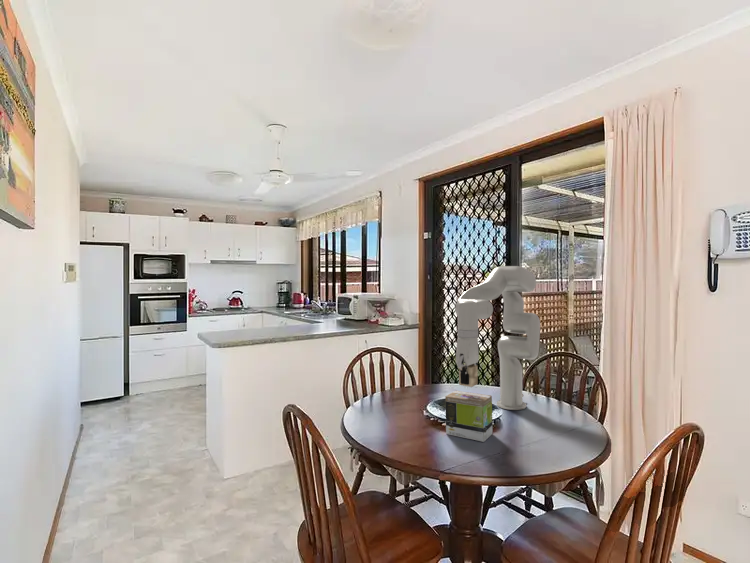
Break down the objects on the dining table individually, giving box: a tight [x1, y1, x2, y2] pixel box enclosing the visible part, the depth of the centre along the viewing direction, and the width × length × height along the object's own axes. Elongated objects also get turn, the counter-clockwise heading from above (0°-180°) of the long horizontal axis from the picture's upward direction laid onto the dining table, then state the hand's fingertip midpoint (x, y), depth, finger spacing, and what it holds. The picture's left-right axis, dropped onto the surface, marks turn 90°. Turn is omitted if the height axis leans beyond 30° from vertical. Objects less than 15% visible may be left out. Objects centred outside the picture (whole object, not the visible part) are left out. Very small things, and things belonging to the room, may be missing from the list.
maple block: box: [458, 363, 479, 388], centre depth 158 cm, size 5×5×7 cm
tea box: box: [444, 390, 493, 443], centre depth 159 cm, size 15×10×15 cm, turn 56°
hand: (468, 381), depth 159 cm, fingers closed on maple block, 5 cm apart
